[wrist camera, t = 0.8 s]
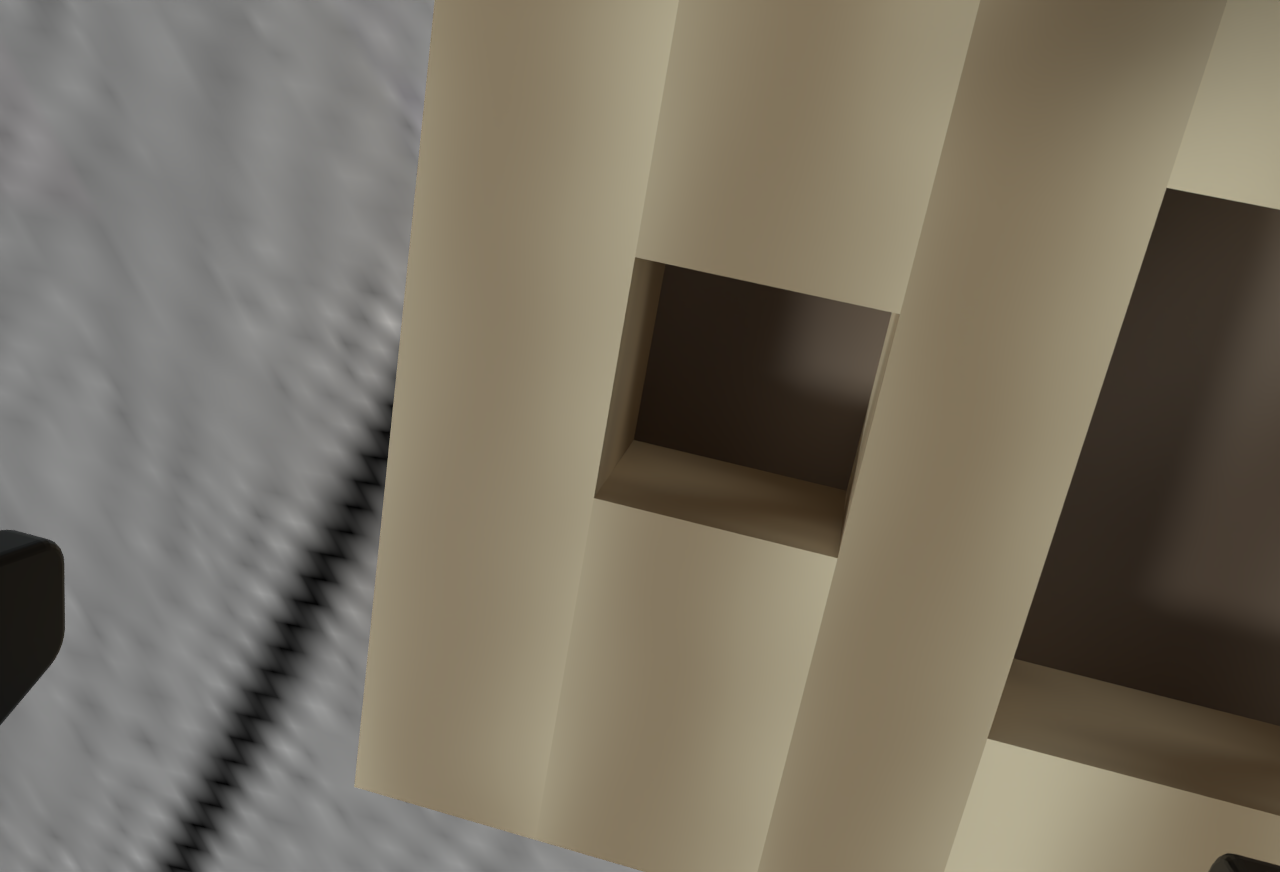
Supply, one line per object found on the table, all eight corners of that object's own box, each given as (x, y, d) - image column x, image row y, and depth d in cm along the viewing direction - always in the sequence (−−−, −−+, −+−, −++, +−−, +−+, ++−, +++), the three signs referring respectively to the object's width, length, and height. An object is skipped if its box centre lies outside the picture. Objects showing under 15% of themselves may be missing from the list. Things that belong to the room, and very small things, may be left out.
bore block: (2119, 1, 14) (2419, -9, 11) (1541, 1005, 20) (1645, 1164, 17) (538, -243, 17) (465, -300, 14) (422, 694, 22) (354, 786, 20)
